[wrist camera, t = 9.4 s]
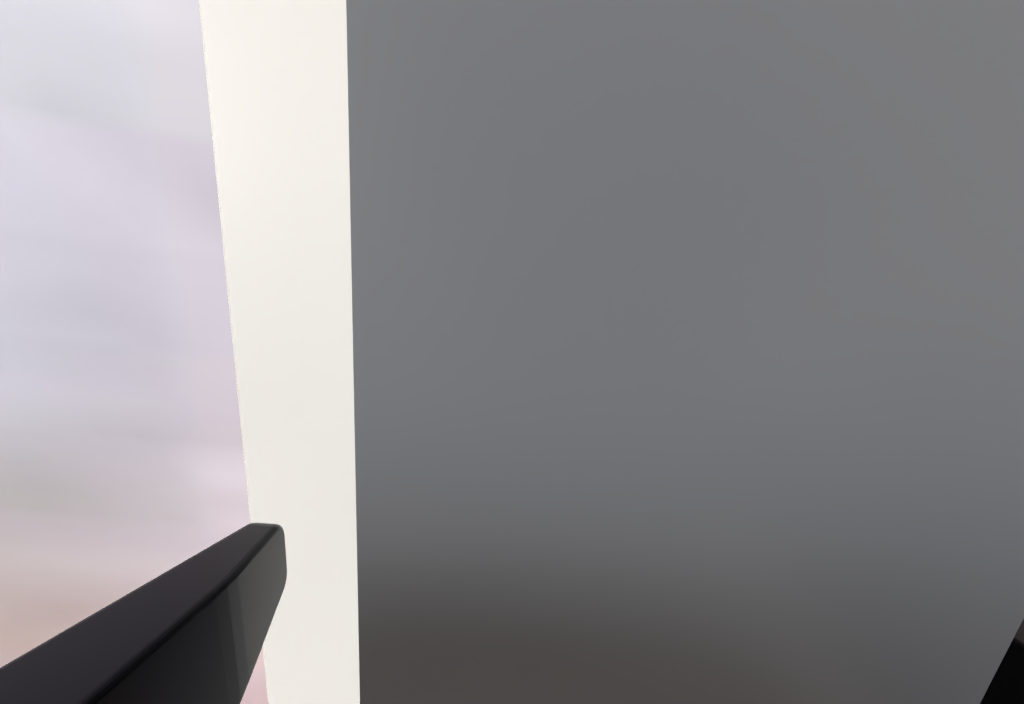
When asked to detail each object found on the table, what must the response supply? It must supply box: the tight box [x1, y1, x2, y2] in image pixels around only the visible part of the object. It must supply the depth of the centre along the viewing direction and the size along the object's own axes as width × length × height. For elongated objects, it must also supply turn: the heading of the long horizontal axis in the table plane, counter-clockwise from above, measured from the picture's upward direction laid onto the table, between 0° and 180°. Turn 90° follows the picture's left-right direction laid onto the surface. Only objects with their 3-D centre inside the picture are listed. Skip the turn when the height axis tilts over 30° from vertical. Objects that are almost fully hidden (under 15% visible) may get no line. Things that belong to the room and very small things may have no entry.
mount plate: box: [199, 0, 360, 704], centre depth 9 cm, size 16×12×4 cm
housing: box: [346, 0, 1024, 704], centre depth 7 cm, size 13×5×5 cm, turn 176°
